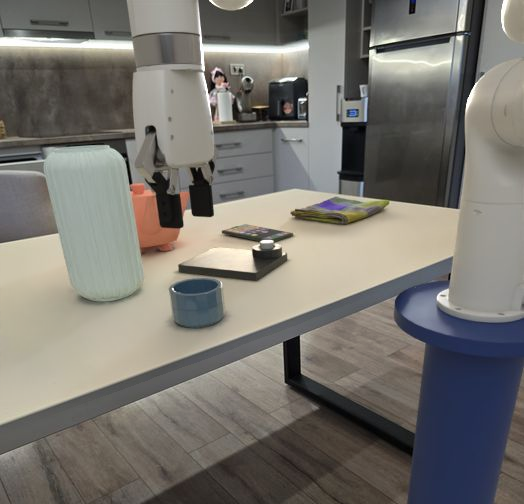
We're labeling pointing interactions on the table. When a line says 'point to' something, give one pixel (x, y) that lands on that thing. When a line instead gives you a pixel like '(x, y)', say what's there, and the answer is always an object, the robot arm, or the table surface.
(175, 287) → the bowl
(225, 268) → the scale
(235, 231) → the smartphone
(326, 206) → the dish towel
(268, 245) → the button
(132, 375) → the table surface
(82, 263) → the vase
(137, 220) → the teapot
